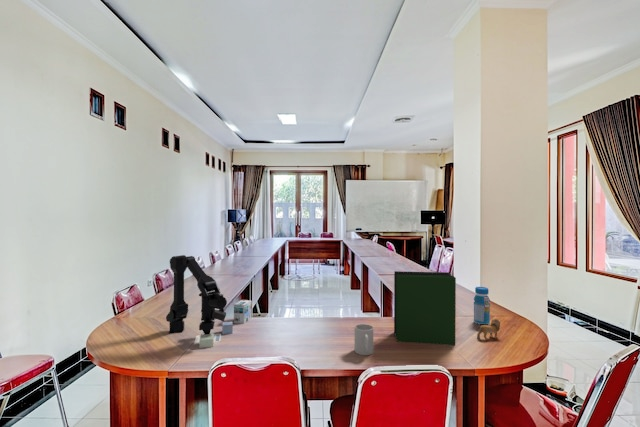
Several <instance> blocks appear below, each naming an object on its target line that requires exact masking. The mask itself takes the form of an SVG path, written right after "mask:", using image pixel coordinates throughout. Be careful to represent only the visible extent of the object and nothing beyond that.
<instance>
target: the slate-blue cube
mask: <svg viewBox="0 0 640 427" xmlns="http://www.w3.org/2000/svg"><path fill="white" fill-rule="evenodd" d="M233 324H234V320H233V321H222V327H221V328H222V330H221V331H222V332H221V335H231V334H233Z"/></svg>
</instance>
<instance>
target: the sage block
mask: <svg viewBox="0 0 640 427" xmlns="http://www.w3.org/2000/svg"><path fill="white" fill-rule="evenodd" d="M214 334H215V333H210V334H204V333H203V334H200V335H201V336H200V340H199V344H198V345H199V349H201V348H213V347H214V345H215V344H214V343H215V342H214Z"/></svg>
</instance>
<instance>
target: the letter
mask: <svg viewBox="0 0 640 427" xmlns="http://www.w3.org/2000/svg"><path fill="white" fill-rule="evenodd" d="M213 334H214V343H219V342H221V340H222V333H213ZM201 335H202V334H200V335H196V336H195V339H194V342H193V345H197V344H198V345H199V340H200V336H201Z"/></svg>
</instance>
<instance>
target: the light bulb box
mask: <svg viewBox="0 0 640 427" xmlns="http://www.w3.org/2000/svg"><path fill="white" fill-rule="evenodd" d="M252 302H253V301H252V300H250V299H249V300H248V299H241V300H238V301H237V302H236V303H234V304H233V324H243V325H244V324H246V323H247V322H249V321H250V320H252V313H253V311H252V309H253V308H252V307H253V306H252V305H253V304H252Z"/></svg>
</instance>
